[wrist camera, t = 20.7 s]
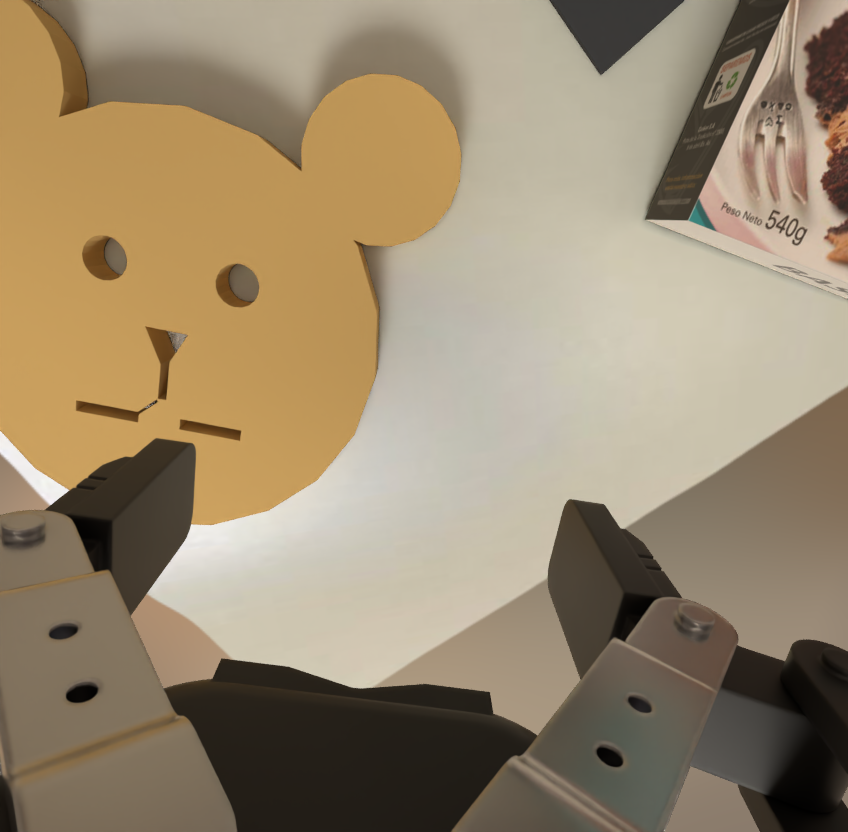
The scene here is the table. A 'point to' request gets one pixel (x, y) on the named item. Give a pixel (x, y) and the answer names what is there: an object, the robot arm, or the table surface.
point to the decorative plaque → (197, 271)
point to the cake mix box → (770, 145)
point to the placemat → (611, 25)
